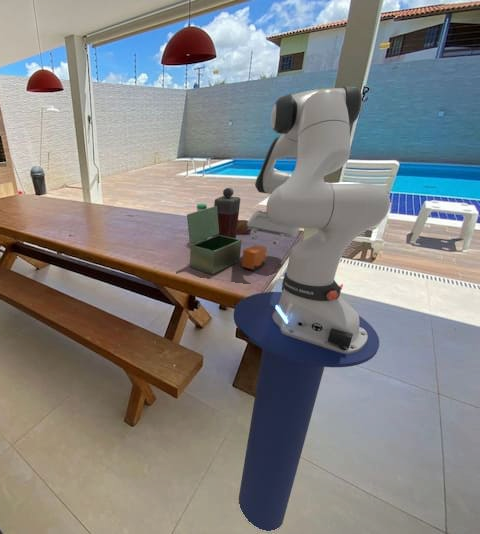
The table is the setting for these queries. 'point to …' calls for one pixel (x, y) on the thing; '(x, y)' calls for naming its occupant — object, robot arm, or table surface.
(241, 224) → the brown rounded piece
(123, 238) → the table surface
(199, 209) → the milk bottle
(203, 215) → the lid
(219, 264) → the green hinged box
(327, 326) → the robot arm
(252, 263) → the toy van
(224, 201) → the dark brown tall piece
